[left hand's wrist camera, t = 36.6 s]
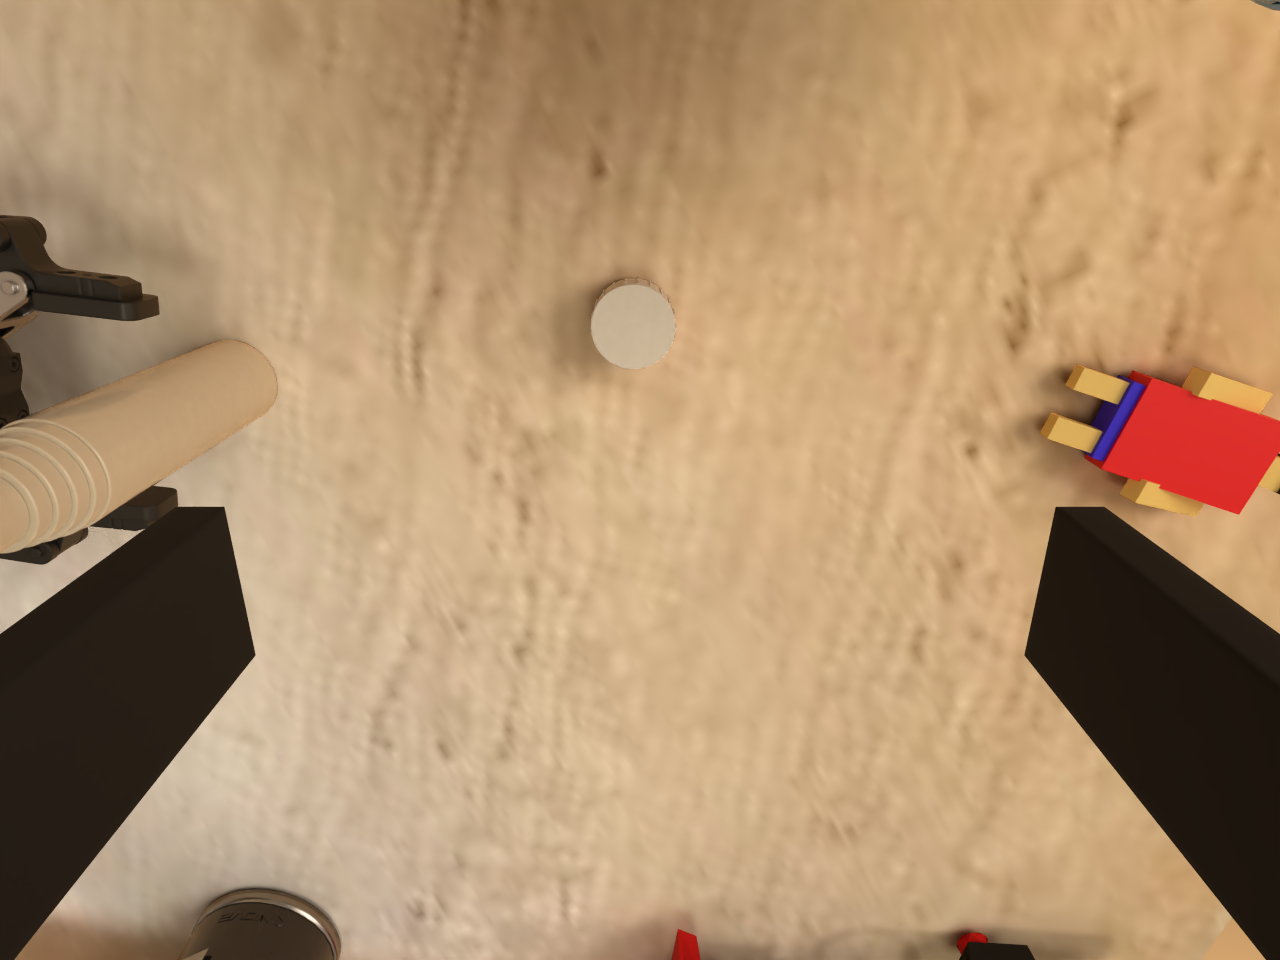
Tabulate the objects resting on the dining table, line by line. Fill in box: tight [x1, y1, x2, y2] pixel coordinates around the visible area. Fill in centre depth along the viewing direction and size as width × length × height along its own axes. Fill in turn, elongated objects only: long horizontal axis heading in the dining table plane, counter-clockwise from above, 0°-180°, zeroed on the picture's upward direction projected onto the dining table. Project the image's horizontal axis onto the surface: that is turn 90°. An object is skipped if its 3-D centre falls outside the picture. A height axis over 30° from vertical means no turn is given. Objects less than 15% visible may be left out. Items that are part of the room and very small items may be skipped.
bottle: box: [0, 340, 277, 553], centre depth 30 cm, size 4×4×19 cm
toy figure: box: [1040, 364, 1280, 517], centre depth 39 cm, size 2×7×12 cm
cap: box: [590, 277, 676, 369], centre depth 37 cm, size 4×4×2 cm
